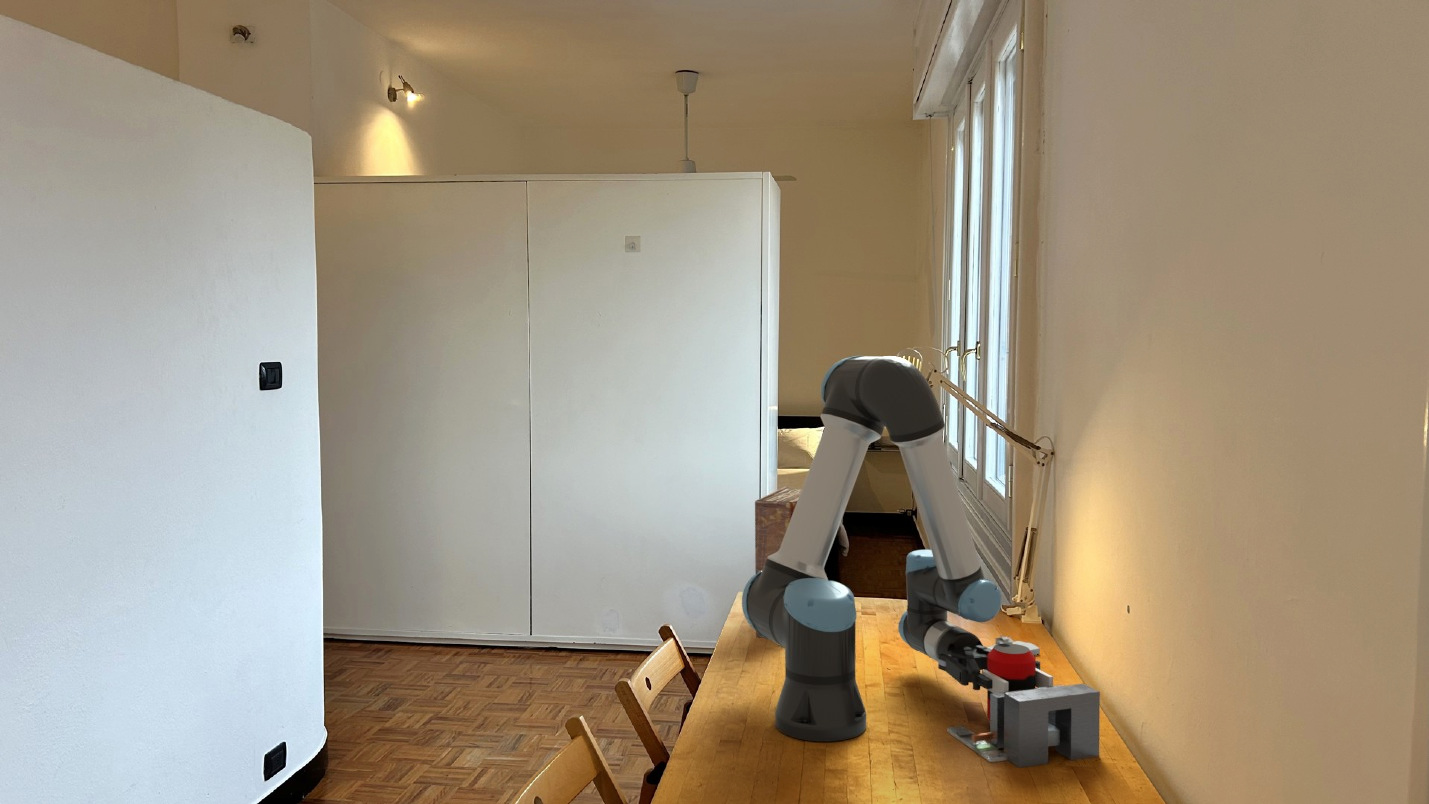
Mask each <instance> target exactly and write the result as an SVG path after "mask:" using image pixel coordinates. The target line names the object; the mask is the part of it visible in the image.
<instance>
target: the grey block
mask: <svg viewBox="0 0 1429 804" xmlns="http://www.w3.org/2000/svg"><path fill="white" fill-rule="evenodd" d="M1058 686H1064V685H1060V684H1059V685H1053V686H1050V687H1058ZM1050 687H1042V688H1050ZM1042 688H1037V687H1035V688H1033V689H1042ZM1033 689H1025V690H1033ZM1025 690H1016V691H1008V692H1017V691H1025ZM1008 692H1000V693H991V694H990V720H989V726H990V727H989V728H990V729H989V731H988V732H980V733H976V734H973V735H972V740H973V741H982V740H985V741H989V743H990V744H992V745H993V746H995V747H996V748H998V749H1004V693H1008ZM1056 745H1060V729H1058V728H1056V727H1055V710H1054V711H1048V747H1055V746H1056Z"/></svg>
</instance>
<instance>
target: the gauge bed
mask: <svg viewBox="0 0 1429 804" xmlns="http://www.w3.org/2000/svg"><path fill="white" fill-rule="evenodd" d="M1057 686H1058V685H1057ZM1100 693H1101V692H1100V691H1099V690H1097V689H1095V688H1093V687H1091V686H1089V685H1087V684H1085V683H1076V684H1069V685H1063V686H1058V687H1050V688H1042V689H1033V690H1025V691H1017V692H1008V693H1004V748H1003V751H1001V750H999V749H1000V748H996V747H995V746H993V745H992V744H990V742H988V741H987V740H982V741H973V740H972V735H973V734H977V733H975V732H973V731H972V730H970V729H969V728H967V727H965V726H964V725H960V726H952V727H946V732H947V733H948V734H950V735H951V736H953V737H954V738H955V739H957V740H958V741H960V742H961V743H962V744H964V745H965V746H967V747H968V748H970V749H971V750H972V751H974V752H975V753H976V754H978V755H979V756H980V757H982V758H983V759H985V760H986V761H988V762H989V763H996V762H1003V761H1009V762H1010V763H1012V764H1013V765H1015V766H1016V767H1017V768H1027V767H1034V766H1040V765H1048V764H1049V746H1048V711H1054V710H1055V727H1056V728H1058V729H1060V745H1056V746H1054V750H1055V752H1057V753H1059V754H1061V755H1062V756H1064V757H1065V758H1067V759H1068V760H1070V761H1075V760H1082V759H1088V758H1090V759H1091V758H1097V757H1100V717H1101V716H1100V715H1101V713H1100V712H1101V711H1100V707H1101V706H1100V705H1101V704H1100V702H1101V701H1100V700H1101V699H1100V698H1101V697H1100V695H1101V694H1100Z"/></svg>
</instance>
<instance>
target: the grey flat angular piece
mask: <svg viewBox="0 0 1429 804" xmlns="http://www.w3.org/2000/svg"><path fill="white" fill-rule="evenodd" d="M994 640H995V644H992V645H991V646H987V648H989V649H993V648H994V646H995V645H998V644H1018V645H1022V646H1025V647H1028V648H1029V649H1030V651H1031V653H1032V654H1033V655H1035V656H1038V655H1037V654H1040V651H1041V648H1040V647H1038V646H1037V645H1036V644H1033V643H1031V642H1026V641H1020V640H1016V641H1015V640H1013V639H1012V638H1011V637H1010V635H1008V636H1003V634H1000V637H994Z"/></svg>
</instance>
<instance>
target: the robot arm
mask: <svg viewBox="0 0 1429 804" xmlns="http://www.w3.org/2000/svg"><path fill="white" fill-rule="evenodd" d="M820 396H821V399H822V404H823V408H822V411H821V413H820V419H821V421H822V424H823V426H824V429H823V432H822V435H821V437H820V440H819V443H818V445H817V447H816V451H815V453H814V456H813V459H812V462H811V464H810V467H809V470H808V472H807V475H806V477H805V480H804V482H803V485H802V488H801V489H802V490H801V493H800V496H799V498H798V501H797V504H796V507H795V509H794V512H793V515H792V517H791V520H790V523H789V525H788V528H787V531H786V533H785V536H784V539H783V541H782V544H781V547H780V549H779V551H778V552H776V553H774V554H772V555H770V556H768V557H767V560H766V562H765V565H764V567H763V570H762V571H760V572H759V573H757V574H756V573H755V574H753V575H752V576H751V577H750V579H749V580H748V581H747V582H746V584H745V586H744V588H743V592H742V594H741V595H742V596H741V607H742V612H743V616H744V618H745V620H746V622H747V623H748V624H749V626H750V627H752V629H754V630H755V632H756V631H757V632H758V633H759V634H760V635H761V636H763V637H762V638H764V639H767V640H770V641H771V642H774V643H775V644H776V645H779V646H780V647H782V648H784V651H785V652H784V654H785V655H784V656H785V657H784V658H785V659H784V661H785V663H784V664H785V665H784V667H785V668H784V669H785V671H784V672H785V673H784V674H785V677H784V682H783V685H782V688H781V691H780V694H779V698H778V701H777V702H776V703H777V704H776V707H775V712H774V718H775V719H774V724H775V728H776V729H777V728H778V729H777V730H778V731H779V730H780V731H779V732H781V731H782V732H781V733H782V734H784V735H786V736H788V735H789V737H791V738H794V737H795V738H794V739H797V740H798V739H799V740H804V741H811V742H838V741H845V740H849V739H852V738H855V737H858V736H860V735H861V734H863V733H864V732H865V730H866V729H867V711H866V707H865V705H864V701H863V699H862V696H861V694H860V693H861V692H860V690H859V687H858V683H857V679H856V628H857V627H856V623H857V622H856V620H857V610H856V602H855V596H854V593H853V592H852V591H851V589H850V588H849V587H848V586H846V585H844V584H843V583H840V582H838V581H835V580H829V579H828V577H827V573H826V572H825V566H826V563H827V560H828V557H829V554H830V552H831V549H832V547H833V544H834V541H835V538H836V536H837V533H838V530H839V527H840V525H841V522H842V519H843V517H844V514H845V511H846V509H847V505H848V503H849V501H850V497H851V495H852V493H853V490H854V486H855V485H856V484H855V483H856V481H857V478H858V477H859V476H858V475H859V473H860V470H861V467H862V465H863V462H864V460H865V457H866V454H867V451H868V450H869V449H868V448H869V445H871V443H874V442H876V441H878V440H880V439H881V438H882V435H883V433H884V429H885V428H886V430H887V433H888V436H889V439H890V440H889V441H890V443H892V444H894V445H896V446H898V448H899V452H900V454H901V458H902V461H903V464H904V468H905V471H906V474H907V477H908V480H909V484H910V487H911V491H912V492H913V496H914V500H915V503H916V507H917V510H918V512H919V515H920V520H921V522H922V525H923V528H924V532H925V535H926V538H927V541H928V542H927V543H928V544H929V548H930V549H917V550H913V551H911V552H909V553H908V554H907V555H906V563H905V569H906V570H905V572H904V573H905V574H904V575H905V583H906V602H907V606H906V611H905V612H903V614H902V615H901V617H900V620H899V622H898V627H897V628H898V632H899V636H900V638H901V639H902V641H904V643H905V644H907V645H908V646H909V647H910V648H912V649H913V650H915V651H916V652H919V653H921V654H922V655H923V654H924V655H925V656H927V657H928V658H931V659H932V660H933V661H935V662H936V663H938V664H937V665H938V666H937V667H938V670H941V671H943V672H945V673H947V674H948V675H950V677H952V678H953V679H954V680H955V681H956V682H958V683H959V684H960V685H961V686H964V687H967V686H969V685H970V684H972V690H974V691H980V690H981V688H983V689H986V690H989V691H991V692H992V693H1000V692H1008V682H1007V681H1006V680H1004V679H1002V678H1000V677H998V676H996V675H995V674H993V673H991V672H989V671H987V663H988V654H989V652H990V651H991V650H992V649H989V648H987V647H988V646H987V647H986V646H984V645H983V643H982V642H981V640H980V639H979V637H978V636H977V635H976V634H974V633H972V632H970V631H969V630H966V629H964V628H962V627H961V626H958V625H957V624H954V623H952V622H950V621H948V612H949V613H951V614H954V615H956V616H958V617H961V618H962V619H964V620H968V621H972V622H977V623H986V622H989V621H991V620H992V619H994V618H995V617H996V616H997V615H998V614H999V611H1000V610H1001V607H1002V601H1003V600H1002V599H1003V597H1002V592H1001V590H1000V588H999V587H998V586H997V584H995V583H994V582H993V581H991V580H990V579H988V578H985V575H984V572H983V568H982V566H981V561H980V560H979V556H978V552H977V549H976V546H975V542H974V538H973V535H972V532H971V529H970V526H969V522H968V518H967V516H966V511H965V509H964V506H963V502H962V498H961V496H960V492H959V488H958V485H957V481H956V478H955V475H954V471H953V469H952V465H951V461H950V458H949V454H948V452H947V448H946V444H945V441H944V438H943V435H942V434H943V432H944V430H945V428H946V424H945V420H944V417H943V414H942V411H941V408H940V405H939V403H938V400H937V397H936V395H935V393H934V391H933V389H932V388H931V386H930V384H929V382H928V380H927V379H926V377H925V375H923V373H922V372H921V371H920V370H919V369H918V368H917V367H916V366H915V365H914V364H913V363H911V362H910V361H909V360H907V359H904V358H902V357H898V356H891V355H887V356H868V355H856V356H855V355H854V356H850V357H845V358H843V359H840V360H839V361H836V362H835V363H834V364H832V365H831V367H829V368H828V370H827V371H826V373H825V374H824V377H823V378H822V382H821V385H820ZM1050 686H1054V676H1052V675H1050V674H1048V673H1047V672H1045V671H1043V670H1041V661H1039V660H1037V659H1036V678H1035V688H1042V687H1050Z"/></svg>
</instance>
